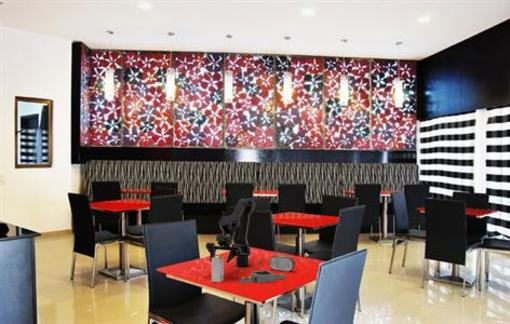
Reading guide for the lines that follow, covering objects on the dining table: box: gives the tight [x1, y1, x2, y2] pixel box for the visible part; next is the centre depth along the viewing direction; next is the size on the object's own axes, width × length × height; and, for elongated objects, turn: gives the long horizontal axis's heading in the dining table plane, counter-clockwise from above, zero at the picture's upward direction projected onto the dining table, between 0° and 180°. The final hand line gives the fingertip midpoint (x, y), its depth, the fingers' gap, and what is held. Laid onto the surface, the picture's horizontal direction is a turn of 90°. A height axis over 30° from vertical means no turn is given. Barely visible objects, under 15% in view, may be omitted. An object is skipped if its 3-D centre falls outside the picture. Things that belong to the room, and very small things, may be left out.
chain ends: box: [238, 269, 287, 284], centre depth 228 cm, size 9×24×4 cm, turn 110°
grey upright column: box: [211, 254, 224, 283], centre depth 227 cm, size 4×4×13 cm
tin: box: [268, 254, 296, 273], centre depth 247 cm, size 15×3×8 cm, turn 65°
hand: (218, 262), depth 228 cm, fingers open, 9 cm apart
